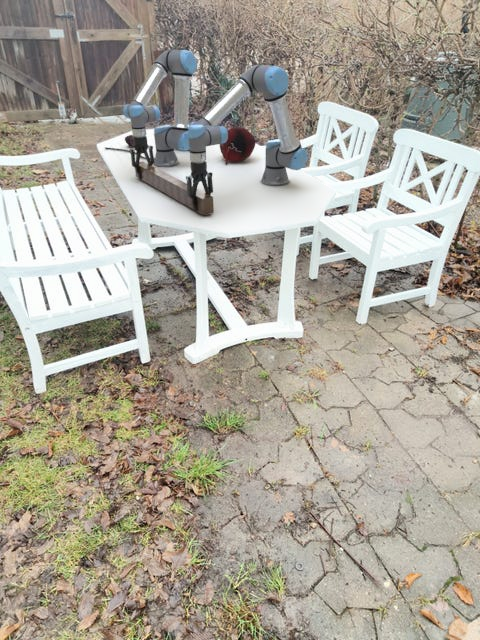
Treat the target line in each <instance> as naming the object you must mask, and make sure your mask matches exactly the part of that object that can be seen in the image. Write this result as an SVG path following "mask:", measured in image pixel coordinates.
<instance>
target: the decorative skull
mask: <svg viewBox="0 0 480 640" xmlns="http://www.w3.org/2000/svg"><path fill="white" fill-rule="evenodd" d="M227 132H228V139H227V141H226V142H225V143H222V144H219V150H220V153H221V155H222V157H223V160H225V165H226V166H227V165H228V163H229V162H237V163H238V162H239V163H240V162H243V161H246V160H247V159H249V157H251V155H252V153H253V152H254V149H255V147H256V142H257V141H256V137H255V136H254V134H252V133H251V132H250V131H249V130H248V129H247V128H245V127H241V126H234V127H231V128H229V129H227Z"/></svg>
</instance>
